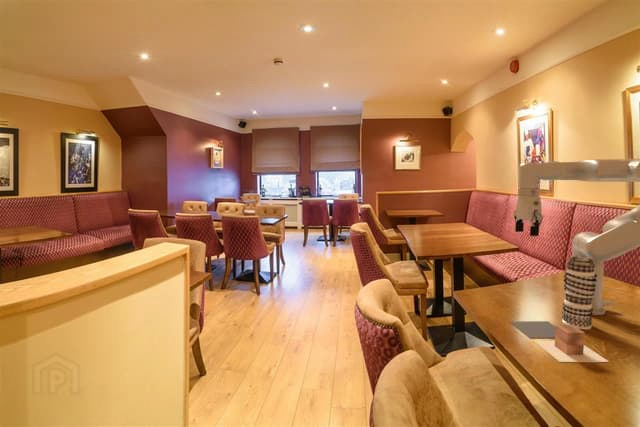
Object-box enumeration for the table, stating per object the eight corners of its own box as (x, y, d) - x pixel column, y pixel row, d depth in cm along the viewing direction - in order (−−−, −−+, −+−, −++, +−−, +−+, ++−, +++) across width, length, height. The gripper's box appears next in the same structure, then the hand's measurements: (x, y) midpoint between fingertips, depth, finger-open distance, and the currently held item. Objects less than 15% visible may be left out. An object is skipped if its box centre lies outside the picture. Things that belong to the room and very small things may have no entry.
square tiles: (547, 321, 118) (547, 321, 118) (609, 362, 92) (609, 361, 92) (509, 322, 118) (509, 321, 118) (559, 362, 92) (559, 361, 92)
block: (570, 345, 100) (572, 325, 100) (583, 354, 95) (584, 332, 95) (554, 346, 101) (555, 325, 100) (566, 354, 96) (567, 332, 95)
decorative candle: (595, 332, 109) (601, 262, 106) (562, 326, 114) (566, 258, 111) (590, 322, 117) (595, 256, 114) (559, 316, 122) (563, 253, 119)
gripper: (552, 193, 122) (550, 237, 124) (524, 191, 139) (522, 230, 141) (533, 194, 122) (531, 237, 124) (507, 192, 139) (505, 230, 141)
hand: (526, 233), depth 132 cm, fingers open, 9 cm apart
